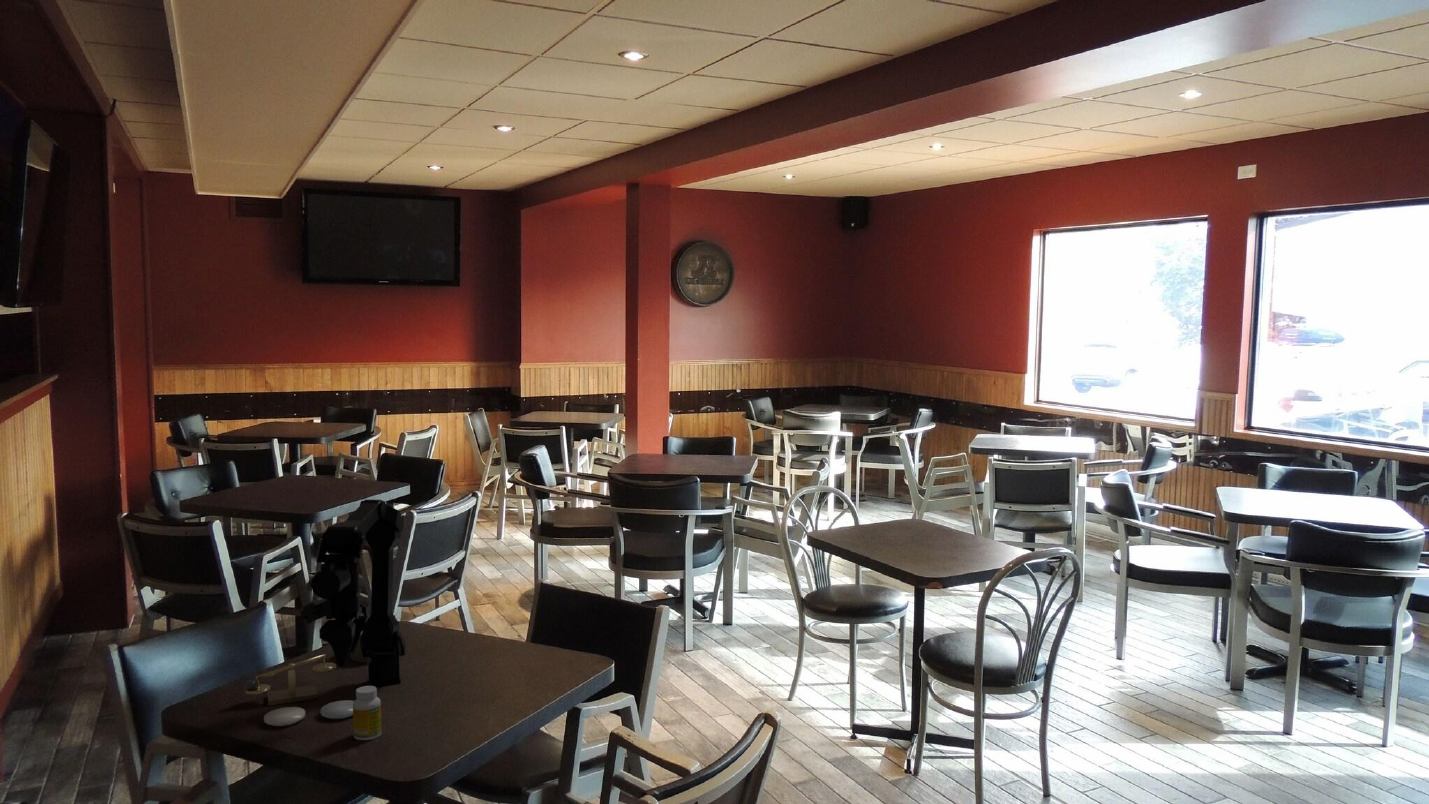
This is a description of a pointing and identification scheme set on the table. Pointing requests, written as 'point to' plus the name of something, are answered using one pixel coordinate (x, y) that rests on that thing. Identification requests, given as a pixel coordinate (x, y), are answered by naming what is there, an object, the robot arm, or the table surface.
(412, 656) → the table surface
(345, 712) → the dish
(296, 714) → the dish
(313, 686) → the balance
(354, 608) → the robot arm
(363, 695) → the supplement bottle
